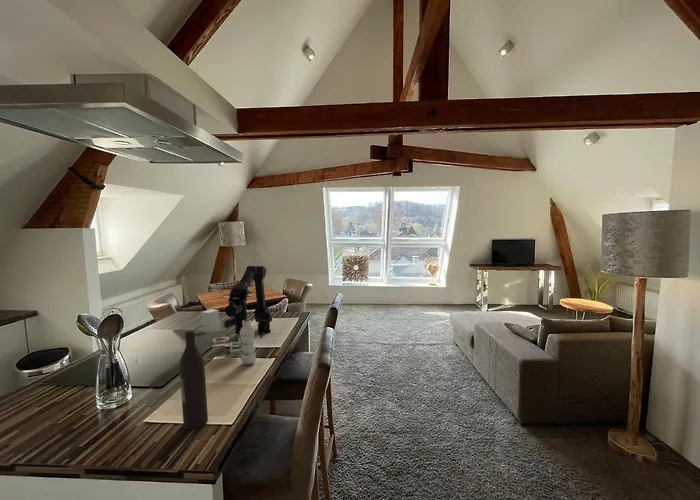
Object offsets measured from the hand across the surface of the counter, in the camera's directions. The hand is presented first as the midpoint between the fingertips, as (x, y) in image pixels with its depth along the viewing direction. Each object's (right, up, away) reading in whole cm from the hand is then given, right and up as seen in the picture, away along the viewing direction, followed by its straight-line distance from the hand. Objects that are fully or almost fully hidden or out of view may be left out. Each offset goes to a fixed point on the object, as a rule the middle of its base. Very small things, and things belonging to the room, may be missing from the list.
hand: (242, 341), depth 172 cm
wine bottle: (+6, -9, -64) cm, 65 cm away
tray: (0, -4, 0) cm, 4 cm away
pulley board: (-10, -4, +11) cm, 15 cm away
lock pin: (0, -3, 0) cm, 3 cm away
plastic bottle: (+9, -5, -18) cm, 21 cm away
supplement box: (-29, -3, +32) cm, 44 cm away
